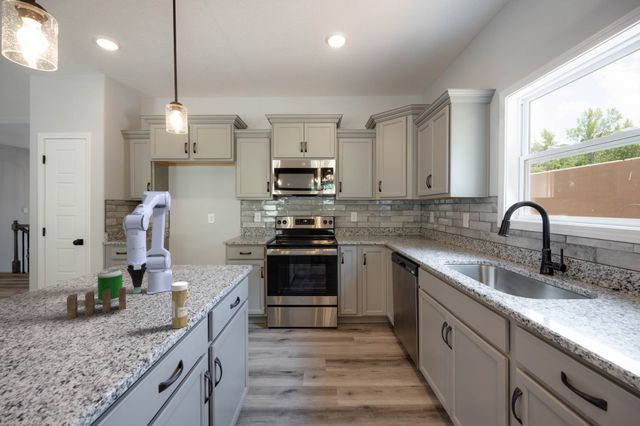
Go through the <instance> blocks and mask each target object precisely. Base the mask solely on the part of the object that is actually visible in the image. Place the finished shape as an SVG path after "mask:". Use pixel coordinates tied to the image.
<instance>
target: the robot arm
mask: <svg viewBox="0 0 640 426" xmlns="http://www.w3.org/2000/svg"><path fill="white" fill-rule="evenodd" d="M141 202H142V204H141V203H140V204H138V205H136V207H135V208H134V210H133V211H132V213H130V214H127V215H126V216H124V218H123V220H122V221H123V222H122V228H123V230H124V236H126V260H123V261H122V264H123V265H127V266H126V267H127V269H126V270H127V272H128V274H129V276H130V279H131V282H132V286H133V289H134V288H138V287H141V288H142V284H143V281H144V280H143V279H144V276H145V273H147V288H146V290H145V291H146V294H147V295H152V294H157V293H163V292H169V291H171V284H173V283H174V282H173V271H172V269H171V264H172V258H171V252H170V251H169V250H167V249H166V248H165V245H164V243H165V226H166V225H165V224H166V214H167V212H169V211H170V210H171V209H170V208H171V203H172V198H171V194H170V191H147V190H144V191H143V192H142V196H141ZM151 217H152V226H151V227H152V229H151V242H150V243H151V244H150V249H149V250H147V232H146V231H147V230H148V229H149V224H150V218H151Z"/></svg>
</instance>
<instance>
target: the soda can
mask: <svg viewBox="0 0 640 426" xmlns="http://www.w3.org/2000/svg"><path fill="white" fill-rule="evenodd" d="M121 287H123V272H122V270H120V269H118V268H112V269H106V270H102V271H100V272H99V273H98V274H97V300H98V301H97V302H99V303H101V304H102V305H103V303H102V293H103V290H107V289H110V292H111V304H114V303H117V302H119V288H121Z"/></svg>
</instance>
